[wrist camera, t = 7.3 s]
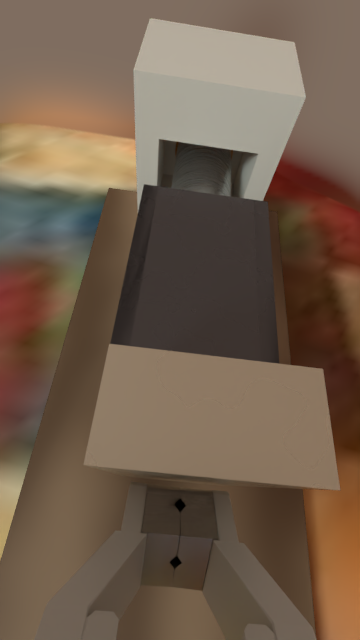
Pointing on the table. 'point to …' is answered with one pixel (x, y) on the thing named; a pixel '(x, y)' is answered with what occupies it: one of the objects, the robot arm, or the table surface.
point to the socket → (214, 101)
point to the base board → (112, 489)
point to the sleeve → (199, 277)
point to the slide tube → (211, 400)
